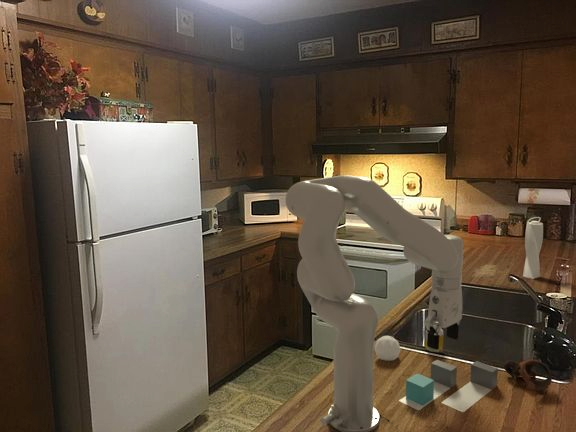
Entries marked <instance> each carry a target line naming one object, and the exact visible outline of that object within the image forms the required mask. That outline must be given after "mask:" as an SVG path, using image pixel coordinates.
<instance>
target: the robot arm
mask: <svg viewBox="0 0 576 432" xmlns="http://www.w3.org/2000/svg"><path fill="white" fill-rule="evenodd" d="M285 206H286V208H287V210H288V211H289V213H290V214H291V215H292V216H294V217H296V218H300V219H302V220H303V223H302V224H301V228H300V232H299V234H298V240H297V241H298V242H297V245H298V250H299V254H300V256H301V260H300V261H299V263H298V266H297V270H296V277H297V282H298V283H299V286H300V288H301V290H302V292H303V294H304V296H305V297H306V299H307V301H308V302H309V305H310V306H311V309H313V311H314V313H315V314H316V315H317V317H318V318H319V319H320V320H321V321H323V322H324V323H325V324H327V325H328V326H331V327H332V328H333V329H335V330H336V331H337V332H338V337H337V339H336V341H335V344H334V346H333V404H331V407H330V408H329V410H328V412H327V414H326V415H324V416H323V417H321V418H320V423H321V425H322V426H324V427H326V426H327V425H331V427H333V428H334V429H335V430H338V431H339V432H372V431H373V430H375V429H377V427H378V426H379V425H380V414H379V412H378V410H377V409H376V408H375V407H374V347H375V338H376V332H377V329H378V328H377V327H378V323H379V321H378V319H379V315H378V312H377V309H376V308H375V307H374V305H373V304H372V303H371V302H370V301H369V300H367V299H365V298H364V297H361V296H360V295H358V294H356V293H354V292H355V289H356V281H355V277H354V274H353V272H352V270H351V268H350V266H349V264H348V261H347V260H346V258H345V256H344V254H343V252H342V250H341V248H340V246H339V243H338V240H337V232H338V227H339V225H340V222H341V219H342V218H343V215H344V212H345V211H346V212H351V213H353V214H354V215H356V216H357V217H358V218H359V219H360V220H362V221H363V222H364V223H365V224H367V225H368V226H369V227H370V228H372V229H373V230H374V231H375V232H376V233H377V234H379V235H380V236H381V237H382V238H384V239H386V240H387V241H390V242H392V243H394V244H396V245H399V246H401V247H403V250H402V251H403V255H404V256H403V257H405V259H406V260H407V261H408V262H409V263H411V264H413V265H416V266H418V267H423V268H426V269H429V270H431V283H430V286H431V291H430V295H429V303H428V312H427V314H428V315H427V317H426V318H425V320H424V322H423V323H424V326H425V331H426V330H427V333H428V336H427V346H428V347H430V348H433V349H436V350H438V349H439V337H440V335H438V333H439V331H440V329H442V328H443V329H446V337H447V338H450V339H453V340H455V341H456V340H458V339H459V331H460V330H459V329H460V324H461V320H462V318H463V307H464V306H463V292H462V291H463V290H462V279H463V276H462V275H463V262H464V246H465V245H464V240H463V238H462V237H460V236H458V235H454V234H444V233H442V232H441V231H440V230H439V229H437V228H435V227H434V225H431V224H429V223H427V222H426V221H425V220H423V219H421V218H420V217H418V216H416V215H415V214H413V213H412V212H410V211H408V210H406V209H405V207H403V206H402V205H401V204H400V203H399V202H397V201H396V200H395V199H394V198H393V197H392V196H391V195H390V194H389V193H388V192H387V191H386V190H385V189H383V187H381V186H380V184H378V183H377V182H376V181H374V180H373V179H371V178H369V177H365V176H356V175H348V174H343V175H335V176H330V177H323V178H314V179H308V180H302V181H299V182H296V183H294V184H293V185H291V186H290V188H288V190H287V192H286V195H285ZM435 322H438V323H435ZM433 325H434V326H437V327H436V330H435V329H434V328H433ZM441 327H442V328H441Z"/></svg>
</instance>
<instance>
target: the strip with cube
mask: <svg viewBox="0 0 576 432" xmlns="http://www.w3.org/2000/svg"><path fill="white" fill-rule="evenodd" d="M457 367H458V366H455V365H453V364H450V363H447V362H444V361H442V360H439V359H436V360H434V361H432V362H431V364H430V379H432V380H434V397H433V399H431V400H430V401H429V402H427V403H426V404H424V405H423V406H422V405H420V404H418V403H416V402H414V401H412V400H409V399H407V398H406V395H405V396H404V397H402V398H400V399H399V400H398V402H400V403H402V404H404V405H406V406H408V407H411V408H413V409H414V410H417V411H420V410H422V409H423V408H424V407H426V406H427V405H429V404H430V403H432V402H433V401H434V400H436V399H437V398H439V397H440V396H442V395H443V394H444V393H446V392H447V391H448V390H451V388H453V387H455V386H456V385H457V377H458V376H457V373H458V368H457Z"/></svg>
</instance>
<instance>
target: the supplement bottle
mask: <svg viewBox="0 0 576 432" xmlns="http://www.w3.org/2000/svg"><path fill="white" fill-rule="evenodd" d="M435 323H438V322H435ZM436 327H437V326H434V325H433V328H434V329H435V330H436ZM438 335H440V337H439V349H438V350H436V349H433V348H430V347H428V346H427V336H428V333H427V330H426V329H425V343H424V344H425V345H424V348H425V350H427V351H428V352H431V353H443V349H444V330H443V329H442V327H441V329H440V331H439V333H438Z"/></svg>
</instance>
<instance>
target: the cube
mask: <svg viewBox="0 0 576 432" xmlns="http://www.w3.org/2000/svg"><path fill="white" fill-rule="evenodd" d="M405 381H406V382H405V396H406V398H407V399H409V400H412V401H414V402H416V403H418V404H420V405H422V406H423V405H424V404H426V403H427V402H429V401H430V400H431V399H433V397H434V380H432V379H431V377H430V378H429V377H427V376H425V375H422V374H419V373H416V374H414V375H412V376H410V377H409V378H407V379H406V380H405Z"/></svg>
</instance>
